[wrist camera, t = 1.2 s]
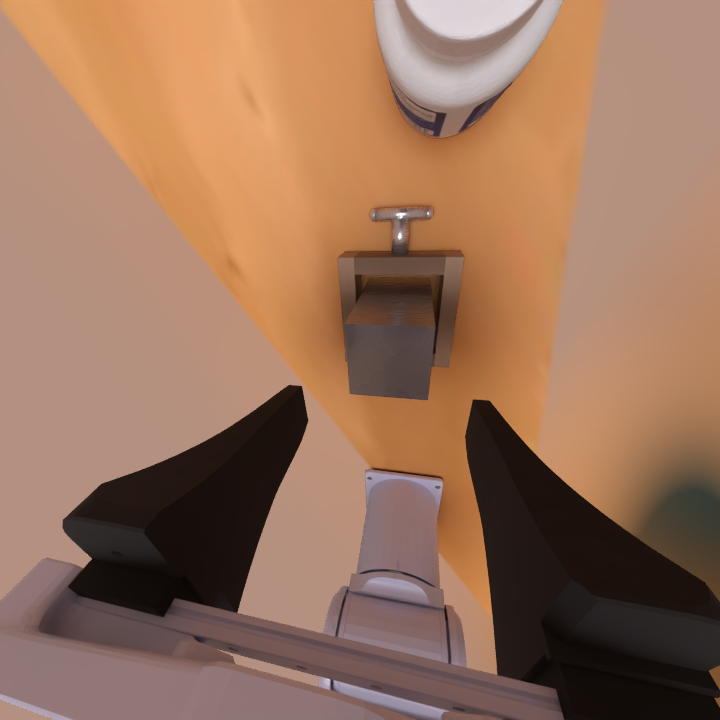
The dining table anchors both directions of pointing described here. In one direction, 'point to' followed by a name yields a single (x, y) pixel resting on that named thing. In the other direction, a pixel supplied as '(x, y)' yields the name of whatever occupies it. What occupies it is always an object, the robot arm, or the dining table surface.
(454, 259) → the walnut clamp block
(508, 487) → the robot arm
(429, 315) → the steel post
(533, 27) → the pill bottle
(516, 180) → the dining table surface
